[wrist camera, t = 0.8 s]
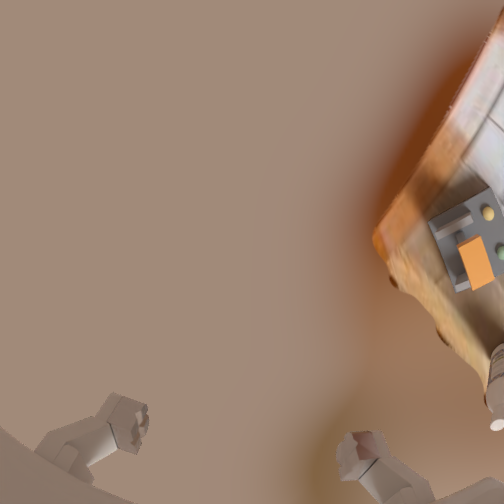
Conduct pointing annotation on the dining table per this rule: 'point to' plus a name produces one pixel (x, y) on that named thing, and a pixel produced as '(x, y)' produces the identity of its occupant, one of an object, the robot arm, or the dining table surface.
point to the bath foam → (496, 388)
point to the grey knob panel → (470, 234)
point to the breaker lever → (474, 260)
